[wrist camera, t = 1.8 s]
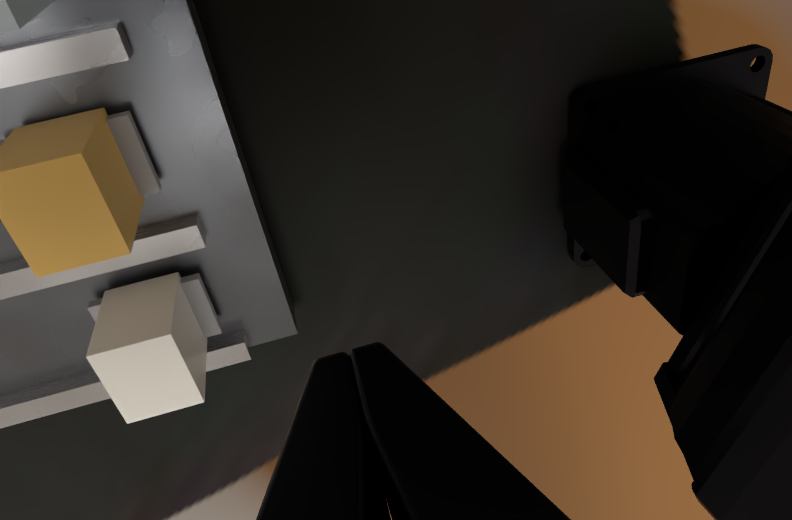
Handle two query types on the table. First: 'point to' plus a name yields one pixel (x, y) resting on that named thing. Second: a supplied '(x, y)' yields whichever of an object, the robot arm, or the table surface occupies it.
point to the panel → (162, 211)
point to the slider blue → (19, 12)
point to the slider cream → (153, 344)
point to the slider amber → (74, 189)
